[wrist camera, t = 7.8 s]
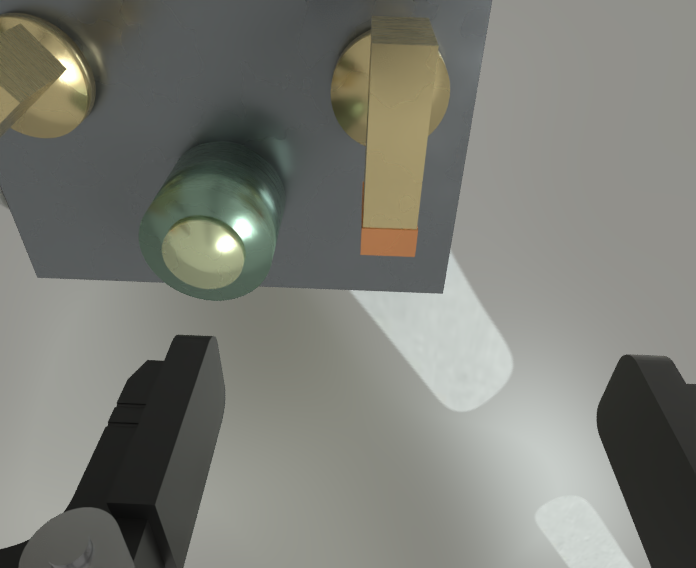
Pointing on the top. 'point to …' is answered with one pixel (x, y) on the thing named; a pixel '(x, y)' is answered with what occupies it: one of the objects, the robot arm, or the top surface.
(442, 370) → the top surface
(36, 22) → the knob
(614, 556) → the top surface
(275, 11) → the base plate
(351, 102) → the knob
